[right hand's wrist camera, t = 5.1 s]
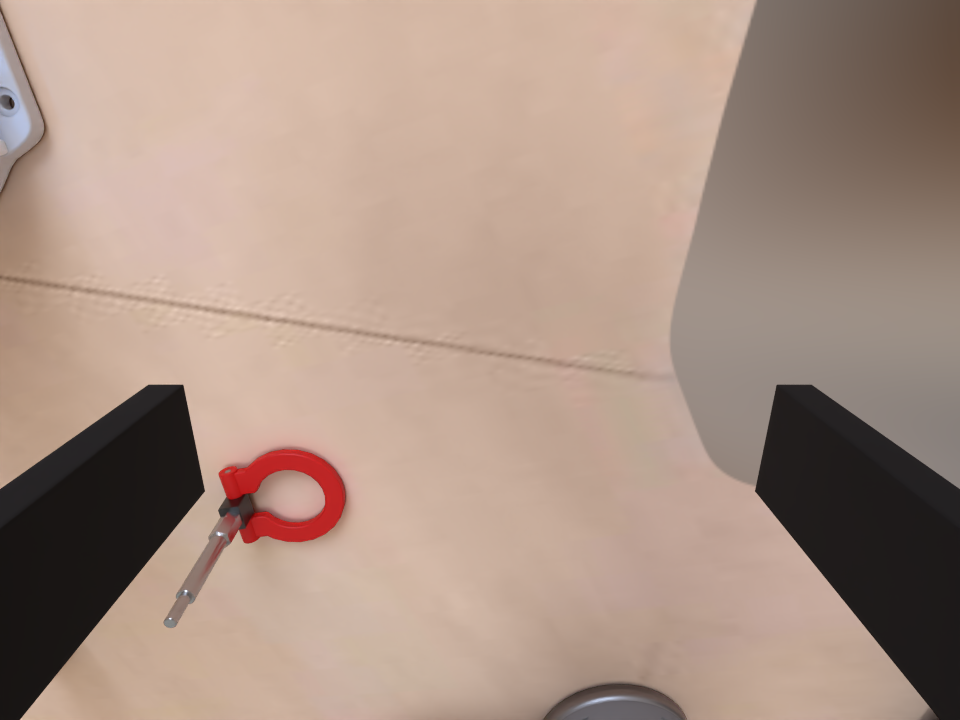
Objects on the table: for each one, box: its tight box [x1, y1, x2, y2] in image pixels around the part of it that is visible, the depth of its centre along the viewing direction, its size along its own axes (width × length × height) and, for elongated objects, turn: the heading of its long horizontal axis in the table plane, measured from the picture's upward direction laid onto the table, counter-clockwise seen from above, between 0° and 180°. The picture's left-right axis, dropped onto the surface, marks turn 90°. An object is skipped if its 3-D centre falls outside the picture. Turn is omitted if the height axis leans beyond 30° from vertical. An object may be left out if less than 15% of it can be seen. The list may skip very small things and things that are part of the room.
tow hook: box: [164, 449, 345, 628], centre depth 40 cm, size 8×13×9 cm
